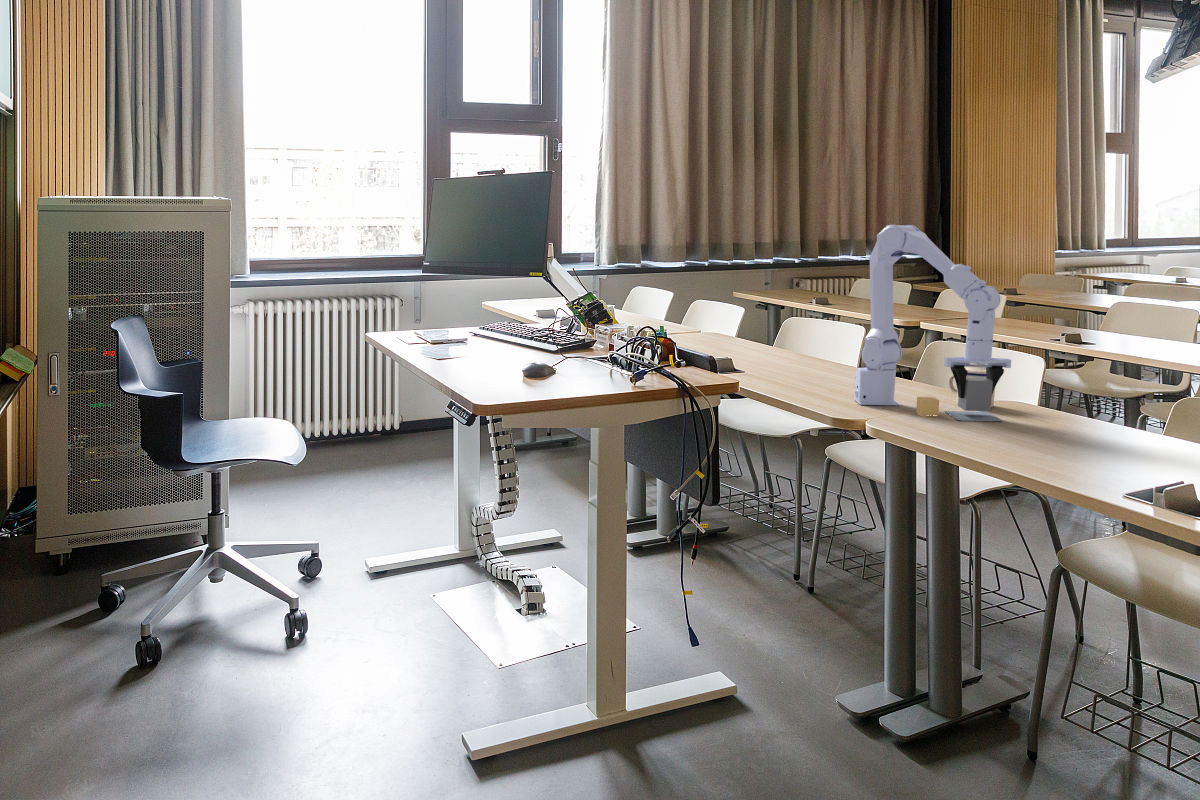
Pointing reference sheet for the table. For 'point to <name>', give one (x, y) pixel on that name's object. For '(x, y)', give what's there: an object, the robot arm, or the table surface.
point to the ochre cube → (927, 406)
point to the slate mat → (973, 416)
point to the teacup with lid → (971, 373)
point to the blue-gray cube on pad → (976, 394)
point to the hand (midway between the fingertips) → (974, 397)
